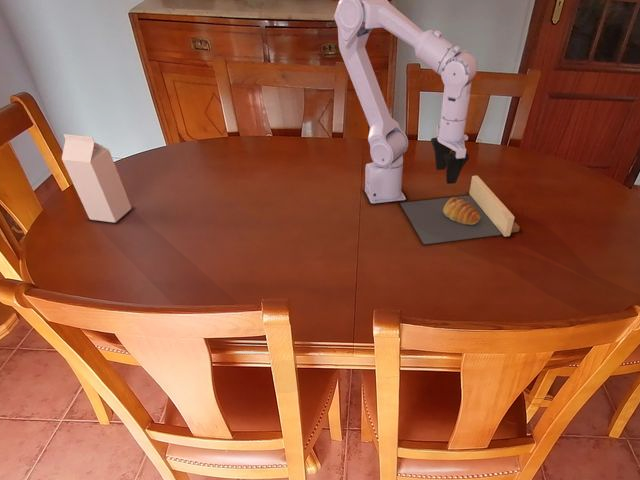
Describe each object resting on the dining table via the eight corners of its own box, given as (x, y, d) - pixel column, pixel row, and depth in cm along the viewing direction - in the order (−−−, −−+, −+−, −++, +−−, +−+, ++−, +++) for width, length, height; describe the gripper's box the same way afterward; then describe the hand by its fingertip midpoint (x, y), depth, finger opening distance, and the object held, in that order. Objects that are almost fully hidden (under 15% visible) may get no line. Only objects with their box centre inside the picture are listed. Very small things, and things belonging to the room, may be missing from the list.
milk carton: (115, 223, 112) (82, 143, 99) (89, 220, 113) (52, 140, 100) (132, 209, 117) (102, 131, 104) (106, 206, 118) (73, 128, 105)
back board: (504, 236, 110) (508, 217, 107) (469, 193, 125) (472, 175, 122) (521, 234, 111) (526, 215, 107) (484, 192, 126) (487, 174, 122)
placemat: (423, 244, 107) (424, 244, 107) (399, 203, 121) (399, 202, 121) (501, 234, 111) (501, 234, 111) (469, 195, 124) (469, 195, 124)
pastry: (485, 220, 115) (488, 205, 113) (469, 230, 112) (471, 215, 109) (455, 206, 120) (457, 192, 117) (438, 215, 117) (440, 201, 114)
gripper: (483, 127, 99) (472, 187, 109) (459, 104, 109) (451, 161, 118) (451, 129, 98) (443, 190, 107) (430, 106, 108) (424, 164, 117)
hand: (445, 175), depth 113 cm, fingers open, 7 cm apart
